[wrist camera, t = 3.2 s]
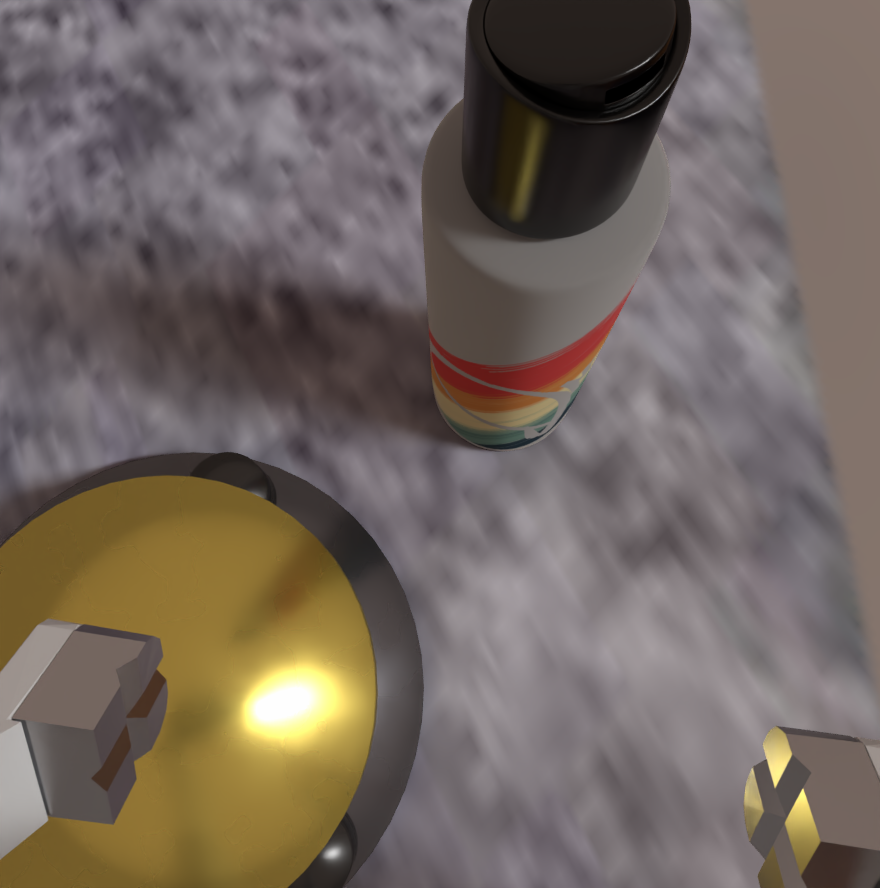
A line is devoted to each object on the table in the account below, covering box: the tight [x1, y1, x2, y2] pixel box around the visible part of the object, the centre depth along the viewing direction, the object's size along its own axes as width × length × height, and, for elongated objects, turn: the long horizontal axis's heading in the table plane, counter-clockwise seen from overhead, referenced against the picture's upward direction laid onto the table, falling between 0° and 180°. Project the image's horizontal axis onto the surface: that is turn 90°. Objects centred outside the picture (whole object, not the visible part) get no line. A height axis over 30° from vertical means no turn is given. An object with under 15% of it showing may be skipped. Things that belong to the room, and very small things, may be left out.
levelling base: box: [0, 452, 424, 888], centre depth 28 cm, size 18×18×3 cm
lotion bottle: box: [421, 0, 691, 451], centre depth 23 cm, size 6×6×20 cm
